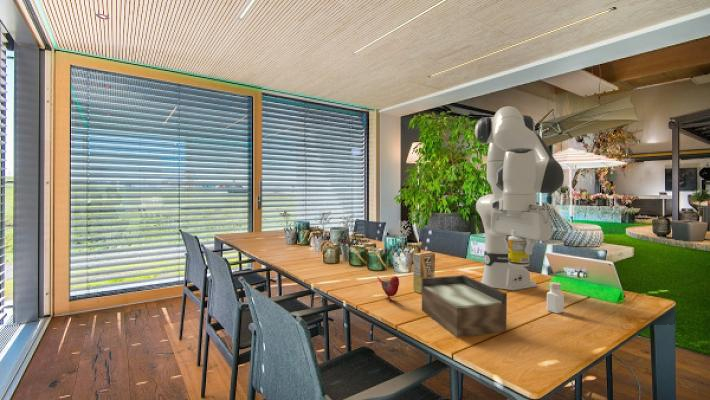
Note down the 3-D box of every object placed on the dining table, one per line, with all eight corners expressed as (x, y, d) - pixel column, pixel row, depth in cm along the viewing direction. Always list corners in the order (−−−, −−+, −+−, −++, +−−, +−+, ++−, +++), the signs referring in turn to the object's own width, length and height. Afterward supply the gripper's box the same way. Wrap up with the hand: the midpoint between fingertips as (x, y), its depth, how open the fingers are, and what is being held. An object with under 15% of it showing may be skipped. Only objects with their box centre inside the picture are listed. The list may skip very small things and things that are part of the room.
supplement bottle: (511, 262, 103) (511, 228, 103) (531, 264, 100) (531, 229, 99) (505, 265, 99) (505, 230, 98) (526, 268, 95) (527, 231, 95)
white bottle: (557, 314, 112) (557, 285, 112) (545, 310, 116) (546, 282, 116) (564, 312, 114) (565, 284, 114) (552, 308, 118) (553, 281, 117)
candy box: (426, 287, 143) (427, 251, 143) (435, 289, 140) (435, 252, 140) (412, 291, 138) (413, 253, 137) (421, 293, 135) (421, 255, 134)
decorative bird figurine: (395, 306, 120) (395, 278, 119) (373, 292, 136) (374, 267, 136) (402, 305, 121) (402, 277, 120) (380, 291, 137) (380, 267, 137)
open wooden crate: (463, 306, 120) (464, 275, 120) (506, 331, 99) (506, 293, 98) (421, 310, 116) (422, 278, 116) (456, 337, 95) (456, 297, 94)
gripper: (558, 205, 89) (557, 258, 90) (504, 202, 109) (504, 245, 110) (538, 206, 88) (537, 259, 88) (487, 203, 107) (487, 246, 108)
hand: (518, 252), depth 99 cm, fingers closed on supplement bottle, 5 cm apart
